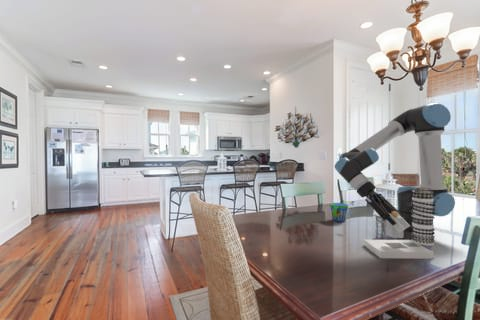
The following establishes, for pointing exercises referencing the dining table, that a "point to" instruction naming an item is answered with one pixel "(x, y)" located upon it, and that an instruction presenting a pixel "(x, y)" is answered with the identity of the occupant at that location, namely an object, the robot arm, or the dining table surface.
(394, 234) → the egg topped pedestal
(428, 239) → the decorative candle
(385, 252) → the socket plate
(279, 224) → the dining table surface
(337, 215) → the snack cup
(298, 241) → the dining table surface
